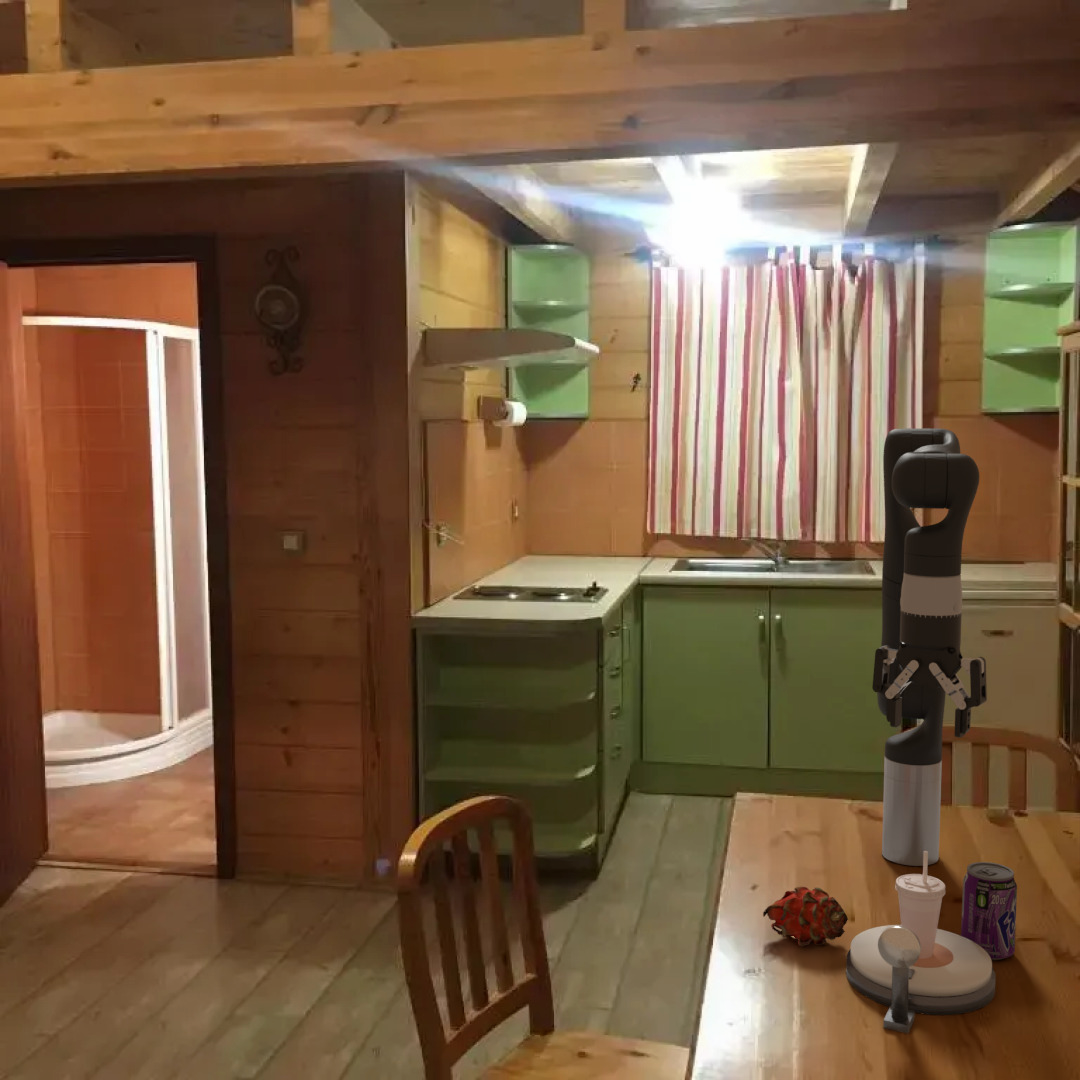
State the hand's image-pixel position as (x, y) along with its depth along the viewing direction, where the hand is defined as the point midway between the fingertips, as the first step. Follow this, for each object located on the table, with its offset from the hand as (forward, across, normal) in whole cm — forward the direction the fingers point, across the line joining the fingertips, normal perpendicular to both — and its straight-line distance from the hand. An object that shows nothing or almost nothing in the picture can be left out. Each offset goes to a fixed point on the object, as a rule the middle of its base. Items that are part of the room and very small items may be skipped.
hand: (927, 730), depth 161 cm
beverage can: (+34, -4, -14) cm, 37 cm away
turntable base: (+34, 0, 0) cm, 34 cm away
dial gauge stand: (+34, -2, +13) cm, 36 cm away
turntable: (+32, 0, 0) cm, 32 cm away
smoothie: (+30, 0, 0) cm, 31 cm away
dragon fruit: (+34, +17, -2) cm, 39 cm away
